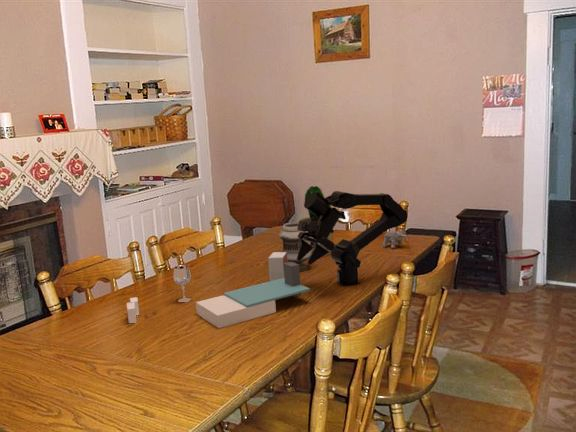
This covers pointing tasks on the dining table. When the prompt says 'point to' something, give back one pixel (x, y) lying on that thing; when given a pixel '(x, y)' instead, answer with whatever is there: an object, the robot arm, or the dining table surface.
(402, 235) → the gray elephant figurine
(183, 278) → the wineglass
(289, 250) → the apothecary jar
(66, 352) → the dining table surface
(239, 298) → the lid
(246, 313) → the carton
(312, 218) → the potted cactus
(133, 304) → the napkin holder
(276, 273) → the small box
